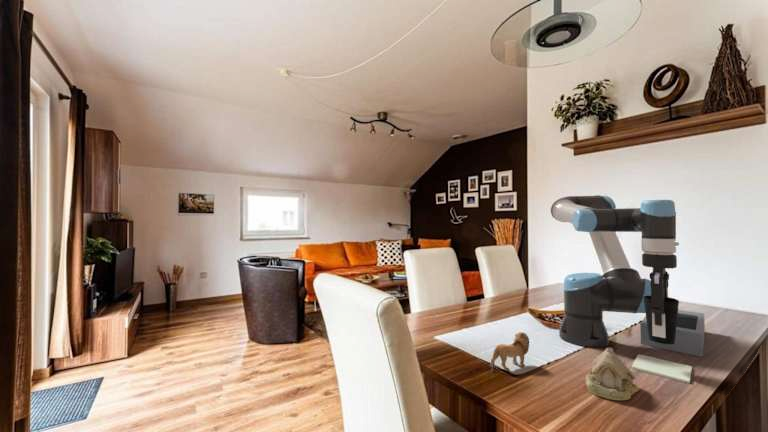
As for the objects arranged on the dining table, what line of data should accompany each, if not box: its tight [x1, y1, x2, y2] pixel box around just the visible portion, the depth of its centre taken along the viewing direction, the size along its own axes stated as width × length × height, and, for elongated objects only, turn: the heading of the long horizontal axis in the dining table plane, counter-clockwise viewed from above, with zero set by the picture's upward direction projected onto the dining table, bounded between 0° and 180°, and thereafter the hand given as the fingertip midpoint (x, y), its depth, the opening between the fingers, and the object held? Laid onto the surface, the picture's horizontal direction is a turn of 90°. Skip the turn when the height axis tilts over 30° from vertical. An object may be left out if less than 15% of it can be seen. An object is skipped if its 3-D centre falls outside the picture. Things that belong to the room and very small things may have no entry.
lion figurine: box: [490, 331, 530, 372], centre depth 93 cm, size 15×5×9 cm, turn 118°
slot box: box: [640, 309, 706, 358], centre depth 115 cm, size 15×32×7 cm, turn 134°
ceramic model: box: [585, 346, 640, 401], centre depth 81 cm, size 14×11×10 cm
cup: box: [643, 296, 680, 344], centre depth 91 cm, size 8×8×12 cm
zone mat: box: [631, 353, 693, 384], centre depth 91 cm, size 12×12×1 cm
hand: (660, 332), depth 91 cm, fingers closed on cup, 8 cm apart
